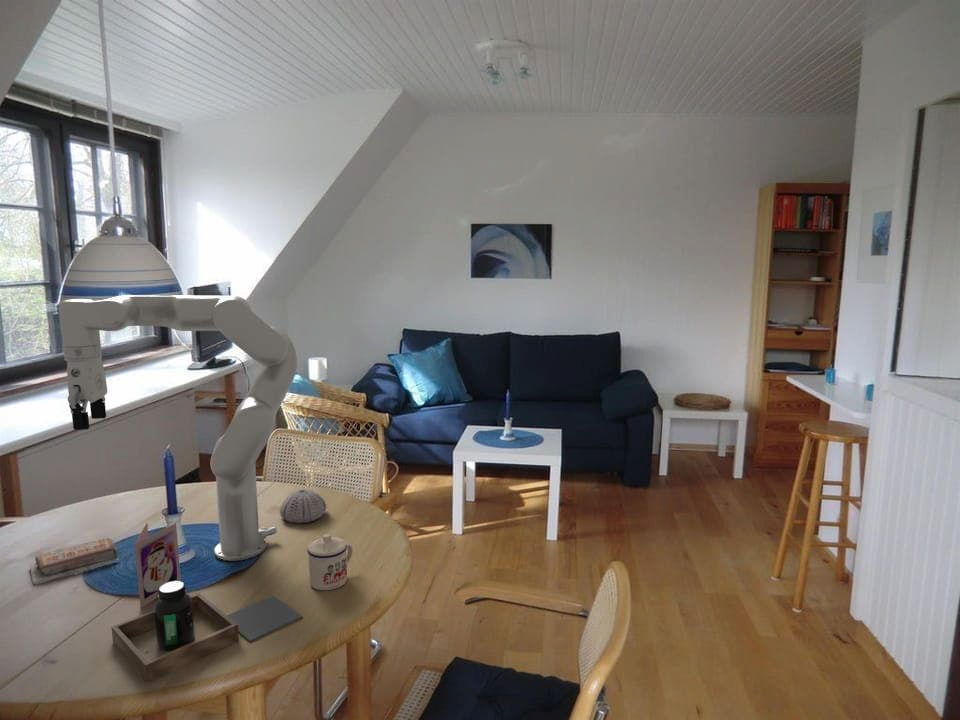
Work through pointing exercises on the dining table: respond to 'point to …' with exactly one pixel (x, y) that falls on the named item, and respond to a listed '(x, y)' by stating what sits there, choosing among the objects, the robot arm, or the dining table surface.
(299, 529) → the dining table surface
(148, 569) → the greeting card
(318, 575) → the teacup with lid
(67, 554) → the packaged product
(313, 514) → the sea urchin shell
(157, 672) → the walnut box
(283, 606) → the charcoal mat
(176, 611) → the supplement bottle
